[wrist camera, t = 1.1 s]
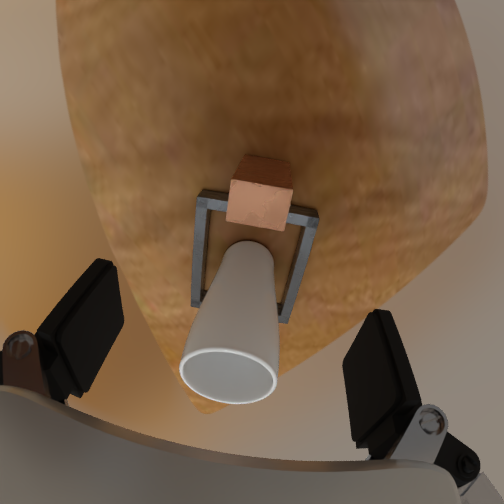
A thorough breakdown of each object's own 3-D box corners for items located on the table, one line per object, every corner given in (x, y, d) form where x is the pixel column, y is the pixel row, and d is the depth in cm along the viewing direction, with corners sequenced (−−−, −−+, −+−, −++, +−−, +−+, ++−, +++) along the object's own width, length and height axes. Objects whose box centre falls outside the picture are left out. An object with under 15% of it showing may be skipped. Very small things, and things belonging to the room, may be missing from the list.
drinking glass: (294, 266, 31) (298, 388, 18) (245, 296, 33) (225, 412, 21) (252, 219, 28) (229, 333, 16) (203, 255, 31) (158, 368, 18)
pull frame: (206, 148, 25) (178, 171, 18) (327, 170, 25) (345, 201, 18) (194, 295, 34) (176, 345, 27) (287, 311, 34) (287, 365, 27)
